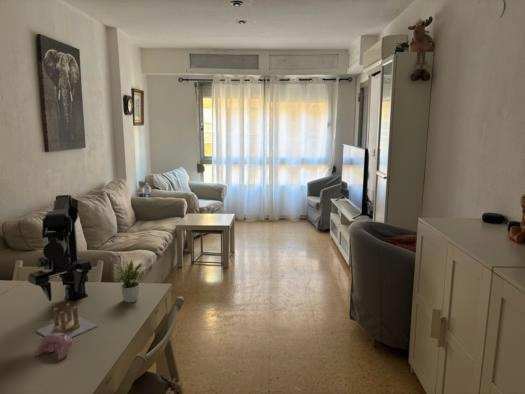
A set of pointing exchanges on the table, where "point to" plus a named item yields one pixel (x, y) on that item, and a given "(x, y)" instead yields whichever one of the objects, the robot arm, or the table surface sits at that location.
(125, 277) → the house plant
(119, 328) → the table surface
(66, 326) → the stool
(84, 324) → the mat
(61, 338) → the video game controller
